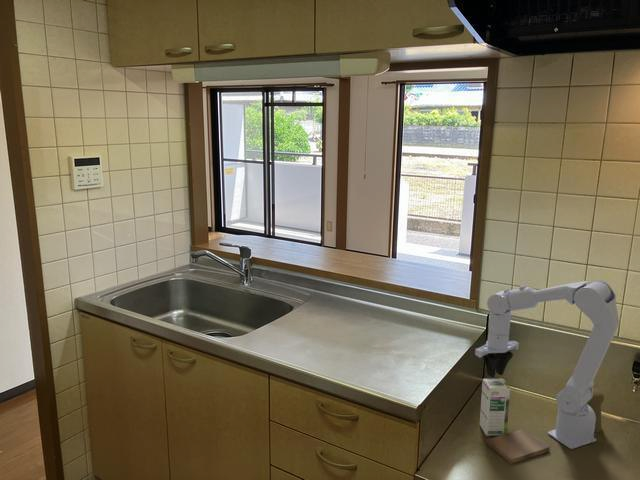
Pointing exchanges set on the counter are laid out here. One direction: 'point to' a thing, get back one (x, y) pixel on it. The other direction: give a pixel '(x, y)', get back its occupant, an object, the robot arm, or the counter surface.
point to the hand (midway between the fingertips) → (495, 374)
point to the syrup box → (494, 407)
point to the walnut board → (517, 445)
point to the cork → (597, 407)
